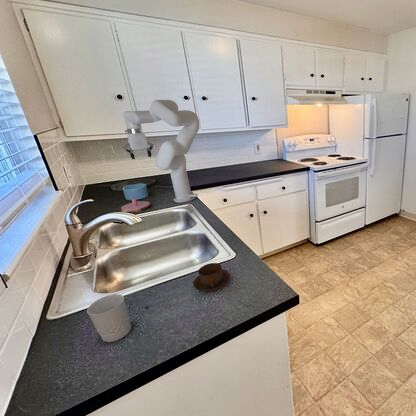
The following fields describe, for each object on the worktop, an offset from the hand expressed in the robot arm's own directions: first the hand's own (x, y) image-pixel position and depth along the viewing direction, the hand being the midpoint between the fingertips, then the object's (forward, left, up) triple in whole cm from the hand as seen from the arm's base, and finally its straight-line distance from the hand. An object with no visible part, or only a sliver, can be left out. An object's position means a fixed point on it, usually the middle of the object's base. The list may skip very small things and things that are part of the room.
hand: (141, 157), depth 178 cm
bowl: (+9, +1, -27) cm, 28 cm away
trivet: (-4, +25, -27) cm, 37 cm away
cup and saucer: (-75, +106, -27) cm, 133 cm away
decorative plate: (+28, -29, -27) cm, 49 cm away
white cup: (-55, +126, -27) cm, 140 cm away
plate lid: (-4, +25, -25) cm, 36 cm away
